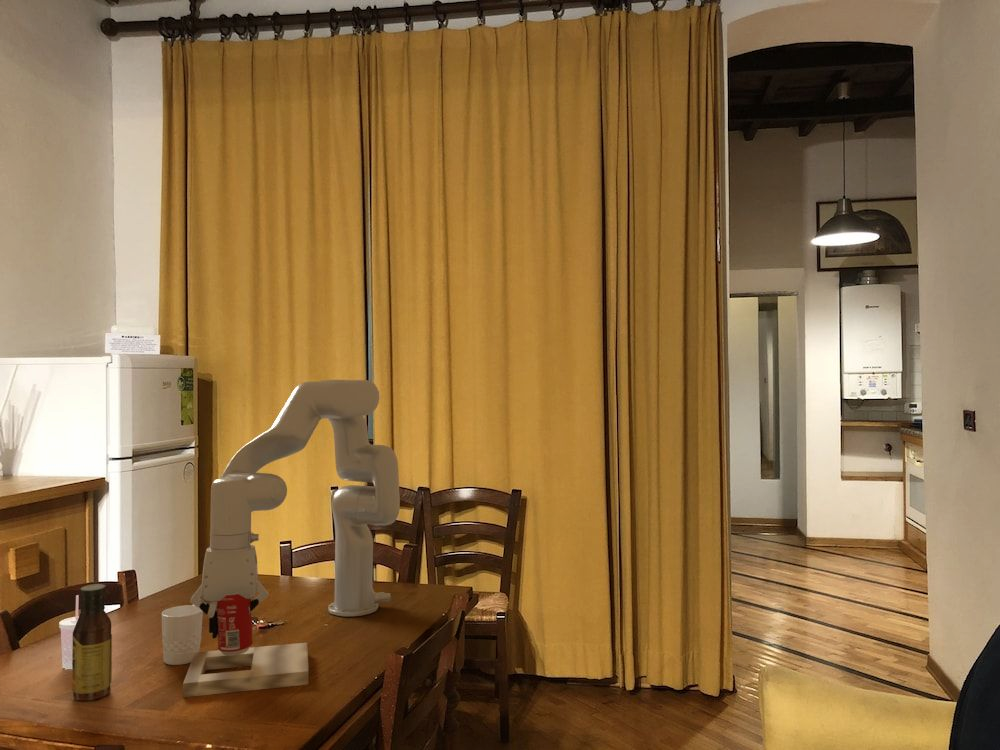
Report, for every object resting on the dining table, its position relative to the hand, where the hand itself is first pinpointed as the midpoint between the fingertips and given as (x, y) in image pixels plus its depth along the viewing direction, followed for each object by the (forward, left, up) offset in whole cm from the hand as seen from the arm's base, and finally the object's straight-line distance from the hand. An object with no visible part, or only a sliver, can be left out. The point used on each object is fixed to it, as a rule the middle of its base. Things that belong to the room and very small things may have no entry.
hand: (229, 633), depth 138 cm
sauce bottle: (+23, +3, -8) cm, 25 cm away
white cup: (+10, -12, -8) cm, 18 cm away
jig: (-4, 0, -8) cm, 9 cm away
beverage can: (-1, 0, -4) cm, 4 cm away
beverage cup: (+30, -14, -8) cm, 34 cm away
